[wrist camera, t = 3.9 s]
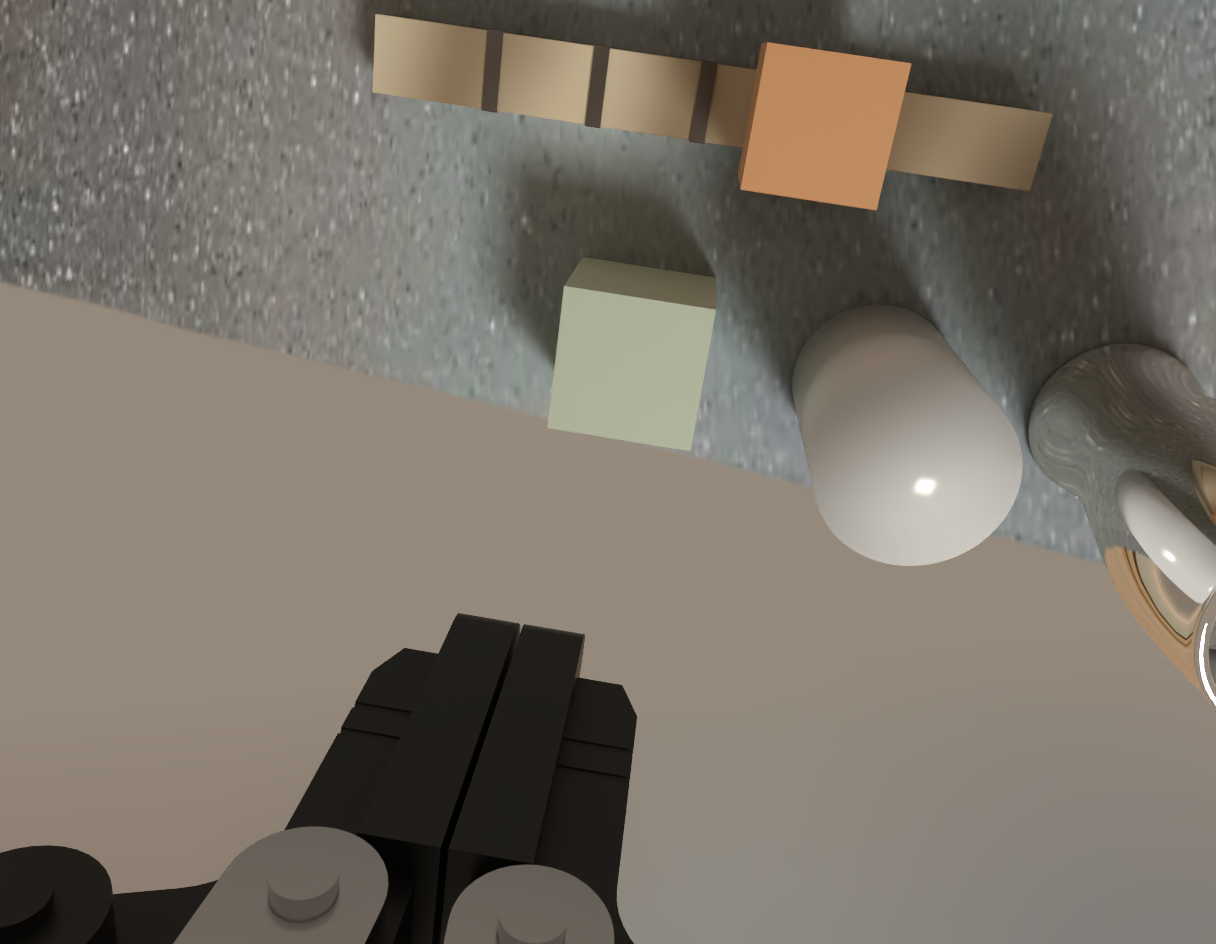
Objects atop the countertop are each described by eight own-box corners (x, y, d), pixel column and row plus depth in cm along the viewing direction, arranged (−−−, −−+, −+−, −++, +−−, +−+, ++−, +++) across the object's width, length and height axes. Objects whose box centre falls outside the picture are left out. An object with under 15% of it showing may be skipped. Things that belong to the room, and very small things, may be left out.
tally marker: (888, 61, 31) (911, 63, 27) (858, 192, 33) (876, 210, 29) (761, 43, 31) (767, 41, 27) (737, 173, 33) (740, 189, 29)
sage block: (716, 277, 37) (716, 310, 32) (693, 403, 39) (690, 451, 34) (582, 256, 37) (564, 285, 32) (567, 383, 39) (547, 427, 34)
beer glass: (1036, 323, 36) (1234, 492, 22) (1235, 336, 35) (1564, 518, 22) (997, 497, 39) (1151, 742, 25) (1182, 512, 38) (1443, 771, 24)
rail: (1035, 109, 33) (1054, 112, 31) (1012, 185, 34) (1030, 192, 32) (393, 14, 34) (374, 12, 32) (390, 91, 35) (371, 93, 33)
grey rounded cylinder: (973, 317, 36) (1050, 397, 28) (930, 467, 39) (988, 580, 30) (810, 292, 36) (838, 363, 28) (777, 442, 39) (794, 548, 31)
